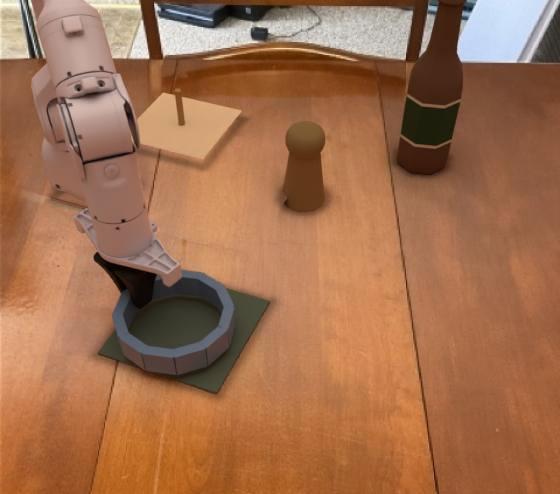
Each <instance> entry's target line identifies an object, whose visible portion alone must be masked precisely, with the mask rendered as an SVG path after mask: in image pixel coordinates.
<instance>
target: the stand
mask: <svg viewBox="0 0 560 494" xmlns="http://www.w3.org/2000/svg"><path fill="white" fill-rule="evenodd" d="M173 92H174V94H171V93H167V92H162V93H161V94H160V95H159V96H158V97H157V98H156V99H155V100H154V101H153V102H152V103H151V104H150V105H149V106H148V108H146V109H145V110H144V112H142V114H140V116H139V117H137V122H138V127H139V133H140V145H143V146H147V147H151V148H155V149H160V150H163V151H168V152H172V153H174V154H178V155H179V154H180V155H183V156H188V157H191V158H195V159H199V160H204V159H205V157H206V156H207V155H208V154H209V153H210V152H211V150H212V149H213V148H214V146H215V145H216V144H217V143H218V142H219V140H220V139H221V138H222V137H223V135H224V134H225V133H226V132H227V130H228V129H229V128H230V127H231V125H232V124H233V123H234V122H235V120H237V118H238V117H239V115H240V114H241V113H242V112H243V110H241V109H237V108H233V107H230V106H229V107H228V106H224V105H220V104H215V103H210V102H207V101H204V100H203V101H202V100H198V99H193V98H190V97H185V96H183V93H182V89H181V88H180V87H179V88H174V91H173ZM129 129H130V128H129ZM130 133H131V131H130ZM131 139H132V143H134V140H133V138H132V135H131Z"/></svg>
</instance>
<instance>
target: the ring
mask: <svg viewBox="0 0 560 494" xmlns="http://www.w3.org/2000/svg"><path fill="white" fill-rule="evenodd" d="M181 272H182V278H181V279H179V280H178V281H177V282H176V283H175V284H173V285H172V286H170V287H168V286H166V285H165V284H163V280H162V277H161V276H160V275H158V274H157V276H156V279H155V283H154V289H153V296H152V300H155V299H158V298H162V297H166V296H170V295H174V294H181V295H189V296H198V297H201V298H203V299H204V300H206V301H208V302H209V303H211V304H212V305H214V306H216V307H217V308H218V310H219V312H220V314H221V318H220V322H219V325H218V327H217V328H216V329H214V330H213V331H212V332H211V333H210V334H209V335H207V336H206V337H205V338H204V339H203V340H201V341H200V342H197V343H194V344H190V345H186V346H183V347H179V348H176V349H169V348H161V347H153V346H147V345H146V344H144V343H143V342H141V341H140V340H138V339H137V338H135V337H134V336H133V335H131V334H130V333H129V332H128V329H129V327H130V324H131V322H132V319H133V317H134V314H135V313H137V312H138V311H139V310H140V309H138V308H137V307H136V306H135V305H134V303H133V301H132V299H131V296H130V293H129V291H128V289H126V290H124V291H123V292H122V294H121V293H120V295H119V297H118V300H117V302H116V305H115V307H114V309H113V312H112V314H111V319H112V322H113V325H114V330H115V329H116V333H117V336H118V339H119V343H120V346H121V349H122V352H123V355H124V356H125V357H127V358H128V359H129V360H131V361H132V362H134V363H135V364H137V365H138V366H139V367H141V368H142V369H141V368H140V369H141V370H143V371H146V372H149V371H150V373H152V372H158V373H165V374H173V375H176V374H178V375H179V374H183V373H186V372H190V371H193V370H197V369H200V368H204V367H207V365H210V364H211V363H212V362H213V361H215V360H216V359H217V358H218V357H219V356H220V355H221V354H222V353H224V352H225V351H226V350H227V349H228V348H229V347H230V344H231V340H232V337H233V333H234V329H235V326H236V321H235V307H234V304H233V302H232V300H231V298H230V296H229V293H228V291H227V289H226V288H227V287H226V285H225V284H223V283H221V282H220V281H218V280H216V279H215V278H213V277H211V276H209V275H208V274H206V273H204V272H202V271H197V270H189V269H188V270H187V269H181Z"/></svg>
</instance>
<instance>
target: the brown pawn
mask: <svg viewBox="0 0 560 494" xmlns="http://www.w3.org/2000/svg"><path fill="white" fill-rule="evenodd" d="M284 138H285V147H286V149H287V151H288V156H287V163H286V169H285V175H284V181H283V186H282V187H283V189H282V192H283V194H284V195H285V196H286V197H287V198H285V201H284V202H283V205H284V206H285V207H286V208H288V209H290V210H292V211H296V212H300V213H301V212H303V213H307V212H312V211H315V210H317V209H319V208H320V207H322V206H323V205H324V202H325V187H324V186H325V185H324V176H323V164H322V154H321V153H322V151H323V150H324V147H325V146H326V133H325V131H324V129H323V128H322V126H321V125H320V124H318V123H316V122H314V121H309V120H301V121H297V122H294V123H293V124H291V125H290V126H289V127H288V129H287V130H286V132H285V137H284Z"/></svg>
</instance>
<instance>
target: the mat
mask: <svg viewBox="0 0 560 494" xmlns="http://www.w3.org/2000/svg"><path fill="white" fill-rule="evenodd" d="M226 289H227V291H228V293H229V296H230V298H231V300H232V302H233V304H234V307H235V321H236V326H235V329H234V333H233V337H232V340H231V344H230V347H229V348H228V349H227V350H226V351H225V352H224V353H222V354H221V355H220V356H219V357H218V358H217V359H216V360H215V361H213V362H212V363H211V364H210V365H207V367H204V368H200V369H197V370H193V371H190V372H186V373H183V374H179V375H178V374H176V375H173V374H165V373H158V372H150V371H148V372H150V373H152V374H155V375H159V376H161V377H164V378H167V379H171V380H174V381H177V382H179V383H183V384H185V385H189V386H191V387H195V388H198V389H200V390H203V391H206V392H209V393H212V394H215V395H218V394H219V392H220V389H221V388H222V386H223V385H224V383H225V381H226V379H227V377H228V375H229V374H230V372H231V370H232V369H233V367H234V366H235V364H236V362H237V360H238V358H239V357H240V355H241V353H242V351H243V349H244V348H245V347H246V345H247V343H248V342H249V339H250V337H251V336H252V334H253V333H254V331H255V329H256V327H257V326H258V324H259V322H260V320H261V318H262V317H263V315H264V313H265V312H266V310H267V308H268V307H269V304H270V302H271V301H270V300H268V299H265V298H261V297H258V296H255V295H251V294H248V293H244V292H241V291H237V290H235V289H231V288H227V287H226ZM220 318H221V314H220V312H219V310H218V308H217V307H216V306H214V305H212V304H211V303H209V302H208V301H206V300H204V299H203V298H201V297H198V296H189V295H181V294H174V295H170V296H166V297H162V298H158V299H155V300H152V301H151V302H150V303H148V304H147V305H146V306H144V307H143V308H142V309H140V310H139V311H138V312H137V313H135V314H134V317H133V319H132V322H131V324H130V327H129V329H128V332H129V333H130V334H131V335H133V336H134V337H135V338H137V339H138V340H140V341H141V342H143V343H144V344H146V345H147V346H153V347H161V348H169V349H176V348H179V347H183V346H186V345H190V344H194V343H197V342H200V341H201V340H203V339H204V338H205V337H206V336H207V335H209V334H210V333H211V332H212V331H213V330H214V329H216V328H217V327H218V325H219V322H220ZM97 355H99V356H102V357H105V358H108V359H111V360H114V361H117V362H120V363H123V364H126V365H129V366H132V367H134V368H138V369H141V370H143V369H142V368H141V367H139V366H138V365H137V364H135V363H134V362H132V361H131V360H129V359H128V358H127V357H125V356H124V355H123V352H122V349H121V346H120V343H119V339H118V336H117V333H116V329H115V328H114V330H113V331H112V333H111V334H109V337H108V338H107V339H106V341H105V342H104V343H103V344H102V346H101V347H100V349H99V350H98V351H97Z"/></svg>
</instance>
